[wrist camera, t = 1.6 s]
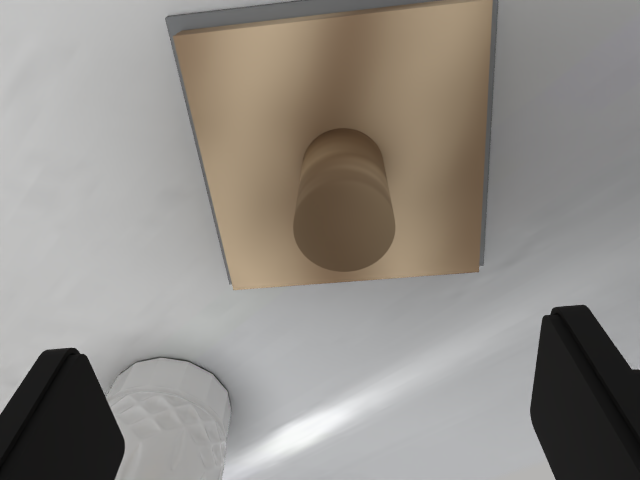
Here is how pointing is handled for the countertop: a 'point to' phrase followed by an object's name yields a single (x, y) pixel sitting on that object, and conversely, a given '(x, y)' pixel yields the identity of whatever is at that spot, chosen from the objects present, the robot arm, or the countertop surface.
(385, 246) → the lid
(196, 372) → the white cup
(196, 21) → the mat
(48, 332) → the countertop surface
